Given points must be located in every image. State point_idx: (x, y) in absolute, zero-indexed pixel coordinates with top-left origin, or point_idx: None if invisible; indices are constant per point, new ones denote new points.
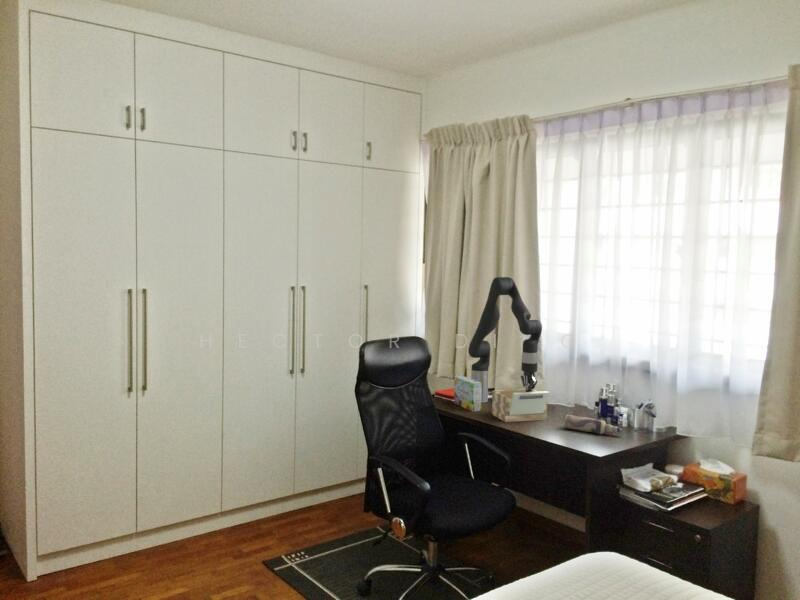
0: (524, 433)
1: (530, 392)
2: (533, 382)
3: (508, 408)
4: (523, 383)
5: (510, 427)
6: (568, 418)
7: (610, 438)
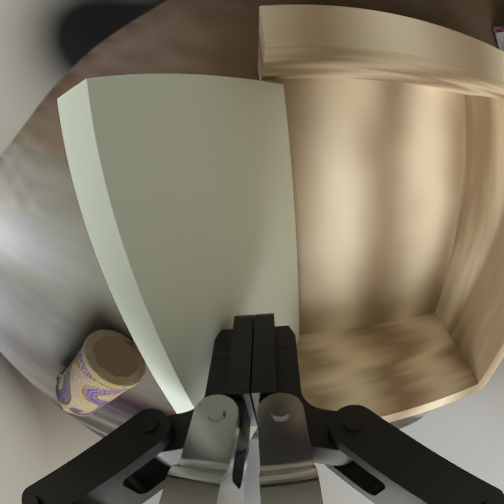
0: (23, 130)
1: (170, 382)
2: (37, 491)
3: (261, 72)
4: (380, 452)
5: (119, 69)
6: (82, 363)
7: (50, 371)
